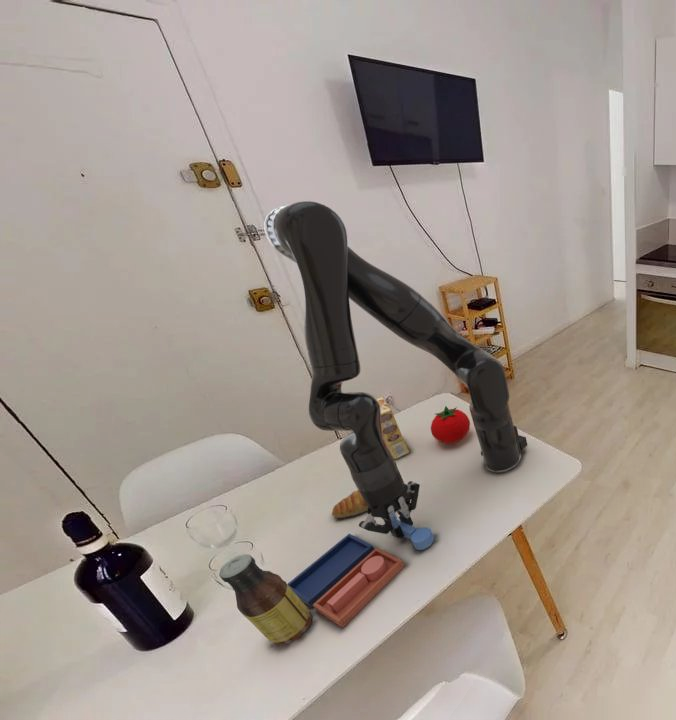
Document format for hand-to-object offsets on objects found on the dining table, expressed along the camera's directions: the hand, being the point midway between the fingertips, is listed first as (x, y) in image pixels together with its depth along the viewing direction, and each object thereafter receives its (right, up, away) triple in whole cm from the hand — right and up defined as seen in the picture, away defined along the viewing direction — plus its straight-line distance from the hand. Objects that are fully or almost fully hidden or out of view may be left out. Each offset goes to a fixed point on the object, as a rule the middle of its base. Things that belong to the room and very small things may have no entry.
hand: (404, 532), depth 91 cm
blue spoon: (+3, -1, -1) cm, 3 cm away
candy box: (-17, +13, +26) cm, 34 cm away
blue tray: (-11, -5, -7) cm, 14 cm away
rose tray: (-2, -7, -10) cm, 12 cm away
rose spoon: (-2, -6, -10) cm, 12 cm away
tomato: (-2, +15, +29) cm, 33 cm away
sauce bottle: (-11, -11, -17) cm, 23 cm away
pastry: (-15, +3, +8) cm, 18 cm away
